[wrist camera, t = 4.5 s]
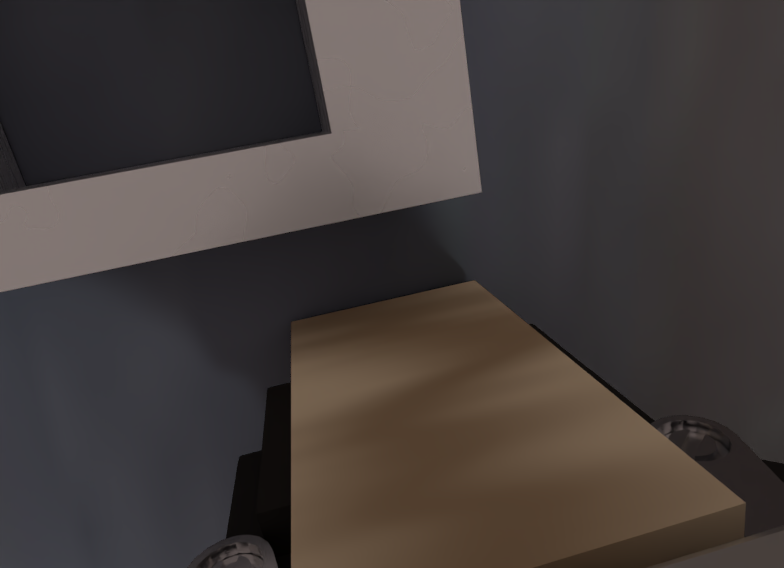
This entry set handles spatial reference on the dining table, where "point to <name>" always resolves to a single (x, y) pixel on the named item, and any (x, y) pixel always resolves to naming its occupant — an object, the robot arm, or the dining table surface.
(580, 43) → the dining table surface
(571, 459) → the beech block
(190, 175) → the rail
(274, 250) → the dining table surface
